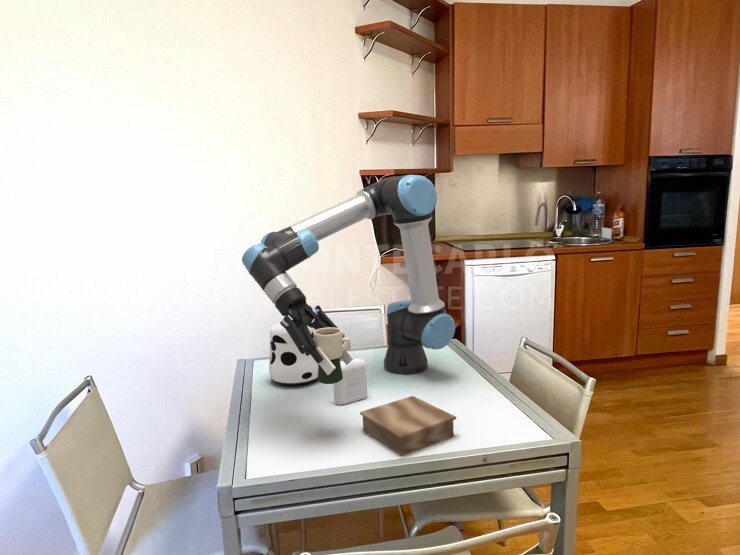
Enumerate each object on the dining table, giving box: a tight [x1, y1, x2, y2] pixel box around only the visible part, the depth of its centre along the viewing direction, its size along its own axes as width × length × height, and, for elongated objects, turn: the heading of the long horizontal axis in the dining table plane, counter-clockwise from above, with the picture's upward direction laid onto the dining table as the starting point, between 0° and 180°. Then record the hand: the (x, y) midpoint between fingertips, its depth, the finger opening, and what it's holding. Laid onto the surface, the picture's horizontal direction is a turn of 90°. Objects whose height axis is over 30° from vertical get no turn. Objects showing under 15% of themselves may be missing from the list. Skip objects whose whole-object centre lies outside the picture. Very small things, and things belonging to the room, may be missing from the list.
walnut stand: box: [359, 395, 457, 456], centre depth 129 cm, size 17×17×5 cm
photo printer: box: [333, 357, 368, 406], centre depth 151 cm, size 10×4×12 cm, turn 123°
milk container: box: [268, 321, 319, 386], centre depth 169 cm, size 17×17×18 cm
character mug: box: [313, 327, 352, 385], centre depth 127 cm, size 11×7×13 cm, turn 84°
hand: (341, 366), depth 126 cm, fingers closed on character mug, 7 cm apart
